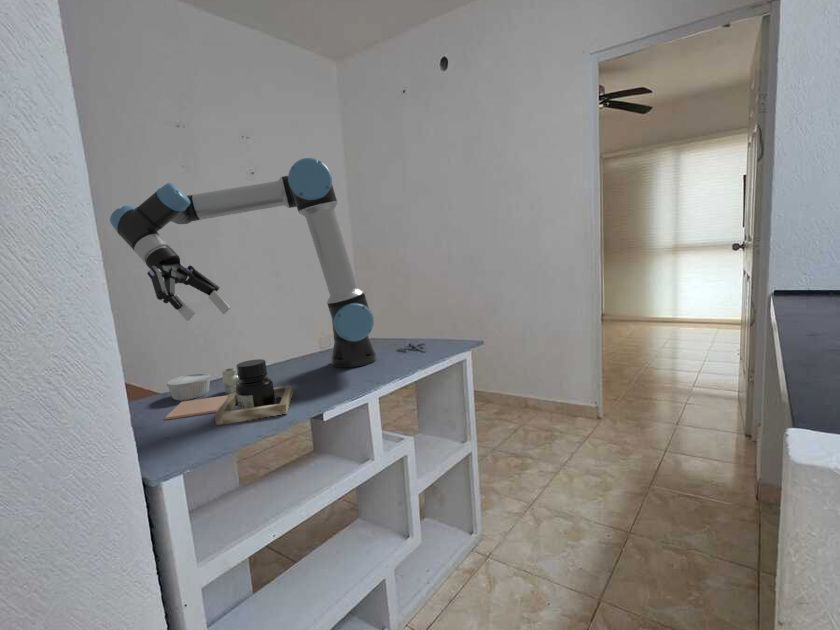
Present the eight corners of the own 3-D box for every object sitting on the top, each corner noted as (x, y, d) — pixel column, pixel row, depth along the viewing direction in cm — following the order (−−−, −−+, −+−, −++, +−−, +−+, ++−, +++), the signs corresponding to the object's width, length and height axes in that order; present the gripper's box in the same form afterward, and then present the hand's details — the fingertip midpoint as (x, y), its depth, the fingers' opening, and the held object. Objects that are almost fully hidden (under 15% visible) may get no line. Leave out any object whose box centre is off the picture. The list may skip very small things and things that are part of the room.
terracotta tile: (227, 397, 122) (227, 395, 122) (216, 412, 110) (216, 410, 110) (181, 403, 120) (181, 401, 119) (165, 419, 108) (165, 417, 108)
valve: (229, 395, 124) (269, 383, 132) (226, 373, 123) (265, 362, 131) (220, 391, 128) (259, 380, 137) (216, 370, 127) (256, 360, 136)
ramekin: (216, 387, 133) (213, 370, 132) (207, 398, 122) (204, 380, 122) (177, 392, 131) (174, 375, 130) (164, 405, 120) (160, 386, 119)
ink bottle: (235, 408, 112) (228, 363, 110) (270, 399, 117) (264, 356, 115) (243, 418, 104) (236, 370, 102) (280, 408, 109) (274, 362, 107)
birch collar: (293, 393, 119) (291, 385, 119) (287, 414, 104) (285, 404, 104) (231, 402, 117) (230, 393, 116) (216, 425, 101) (214, 415, 101)
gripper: (185, 265, 129) (232, 317, 127) (108, 266, 104) (164, 330, 103) (199, 247, 127) (247, 299, 125) (124, 244, 103) (182, 309, 101)
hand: (210, 313), depth 114 cm, fingers open, 13 cm apart
